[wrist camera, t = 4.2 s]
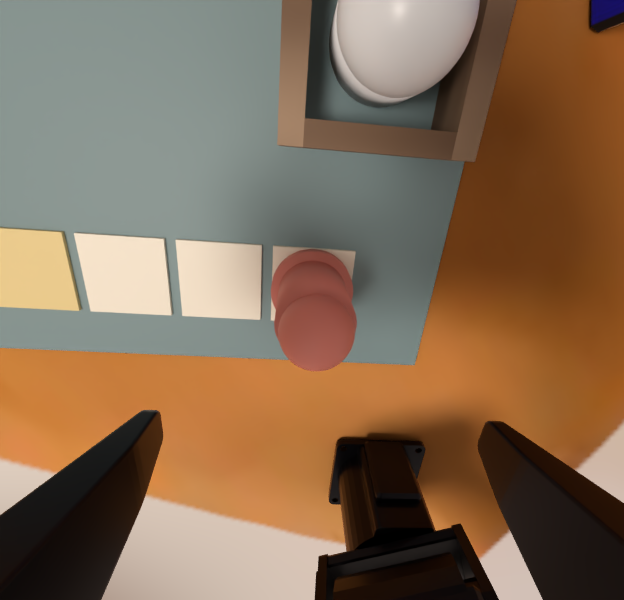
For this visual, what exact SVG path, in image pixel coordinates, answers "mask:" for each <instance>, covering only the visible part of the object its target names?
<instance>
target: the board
mask: <svg viewBox="0 0 624 600" xmlns="http://www.w3.org/2000/svg"><path fill="white" fill-rule="evenodd" d="M337 2H338V0H312V7H311V24H310V40H309V56H308V72H307V89H306V105H305V118H309V119H319V120H330V121H341V122H351V123H362V124H373V125H384V126H394V127H405V128H416V129H426V130H431V126H432V121H433V116H434V111H435V106H436V101H437V96H438V91H439V86H440V81H441V80H440V81H439V82H438V83H436V84H435V85H434V86H432V87H431V88H429V89H427V90H426V91H424V92H422V93H420V94H417V95H415V96H413V97H411V98H409V99H407V100H405V101H403V102H400V103H398V104H396V105H393V106H389V107H383V108H375V107H369V106H366V105H363V104H361V103H359V102H357V101H355V100H354V99H352V98H351V97H350V96H349V95H348V94H347V93H346V92H345V91H344V90H343V89H342V87H341V86H340V84H339V83H338V81H337V79H336V77H335V75H334V72H333V69H332V66H331V61H330V56H329V35H330V29H331V25H332V21H333V17H334V13H335V10H336V6H337ZM281 15H282V0H0V348H19V349H43V350H67V351H91V352H115V353H139V354H162V355H186V356H210V357H234V358H258V359H282V360H289V359H288V358H287V357H286V355H285V354H284V352H283V350H282V348H281V346H280V343H279V340H278V339H277V336H276V333H275V329H274V320H275V312H276V309H275V307H274V305H273V302H272V298H271V285H272V280H273V276H274V273H275V271H276V269H277V267H278V266H279V265H280V263H281V262H282V261H283V260H284V259H285V258H287V257H288V256H289V255H291V254H293V253H295V252H297V251H301V250H305V249H319V250H323V251H326V252H329V253H331V254H333V255H335V256H336V257H337V258H338V259H340V260H341V261H342V262H343V264H344V265H345V267H346V268H347V270H348V272H349V275H350V277H351V280H352V284H353V297H352V301H351V302H352V305H353V308H354V310H355V313H356V318H357V327H356V332H355V339H354V343H353V346H352V349H351V351H350V352H349V354H348V355H347V357H346V358H345V359H344V360H343V361H342V362H353V363H377V364H401V365H415V361H416V357H417V353H418V349H419V345H420V341H421V337H422V333H423V329H424V325H425V321H426V317H427V313H428V309H429V304H430V300H431V296H432V292H433V288H434V284H435V280H436V276H437V272H438V268H439V264H440V260H441V256H442V252H443V248H444V244H445V239H446V235H447V231H448V227H449V223H450V219H451V215H452V211H453V207H454V203H455V199H456V195H457V191H458V187H459V183H460V179H461V174H462V170H463V166H464V162H465V161H448V160H435V159H424V158H412V157H401V156H389V155H378V154H366V153H355V152H343V151H332V150H320V149H309V148H297V147H286V146H279V145H277V138H278V107H279V77H280V46H281Z"/></svg>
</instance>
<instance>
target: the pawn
mask: <svg viewBox="0 0 624 600" xmlns="http://www.w3.org/2000/svg"><path fill="white" fill-rule="evenodd" d="M352 297H353V284H352V280H351V277H350V275H349V272H348V270H347V268H346V267H345V265H344V264H343V262H342V261H341V260H340V259H338V258H337V257H336V256H335V255H333V254H331V253H329V252H326V251H323V250H319V249H305V250H301V251H297V252H295V253H293V254H291V255H289V256H288V257H287V258H285V259H284V260H283V261H282V262H281V263H280V265H279V266H278V267H277V269H276V271H275V273H274V276H273V280H272V285H271V298H272V302H273V305H274V307H275V309H276V312H275V320H274V329H275V333H276V336H277V339H278V340H279V343H280V346H281V348H282V350H283V352H284V354H285V355H286V357H287V358H288V359H289V360H290V361H291V362H292V363H294V364H295V365H297V366H298V367H300V368H303V369H306V370H310V371H324V370H328V369H331V368H333V367H335V366H337V365H338V364H340V363H341V362H342V361H343V360H344V359H345V358H346V357H347V355H348V354H349V352H350V351H351V349H352V346H353V343H354V339H355V332H356V327H357V318H356V313H355V310H354V308H353V305H352V302H351V301H352Z"/></svg>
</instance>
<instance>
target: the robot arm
mask: <svg viewBox="0 0 624 600" xmlns="http://www.w3.org/2000/svg"><path fill="white" fill-rule="evenodd" d="M162 440H163V429H162V422H161V415H160V412H159V411H157V410H143V411H141V412H139V413H138V414H137V415H135V416H134V417H132V418H131V419H130V420H128V421H127V422H126V423H124V424H123V425H122V426H120V427H119V428H118V429H116V430H115V431H114V432H112V433H111V434H109V435H108V436H107V437H105V438H104V439H103V440H101V441H100V442H99V443H97V444H96V445H95V446H93V447H92V448H91V449H89V450H88V451H86V452H85V453H84V454H82V455H81V456H80V457H78V458H77V459H76V460H74V461H73V462H72V463H70V464H69V465H68V466H66V467H65V468H63V469H62V470H61V471H59V472H58V473H57V474H55V475H54V476H53V477H51V478H50V479H49V480H47V481H46V482H45V483H43V484H42V485H40V486H39V487H38V488H36V489H35V490H34V491H33V492H31V493H30V494H28V495H27V496H26V497H24V498H23V499H22V500H20V501H19V502H17V503H16V504H15V505H14V506H12V507H11V508H10V509H8V510H7V511H5V512H4V513H3V514H1V515H0V600H101V599H102V597H103V594H104V592H105V589H106V587H107V585H108V583H109V581H110V578H111V576H112V574H113V571H114V569H115V566H116V564H117V562H118V560H119V557H120V555H121V552H122V550H123V548H124V546H125V543H126V541H127V539H128V536H129V534H130V532H131V530H132V527H133V525H134V522H135V520H136V518H137V515H138V513H139V511H140V508H141V506H142V503H143V501H144V498H145V495H146V492H147V489H148V486H149V482H150V479H151V476H152V473H153V470H154V467H155V463H156V460H157V457H158V454H159V451H160V447H161V444H162ZM343 446H345V447H343ZM417 448H418V449H417ZM478 451H479V454H480V456H481V459H482V462H483V465H484V467H485V470H486V473H487V476H488V478H489V481H490V484H491V486H492V489H493V492H494V495H495V497H496V500H497V502H498V505H499V507H500V509H501V512H502V514H503V516H504V518H505V520H506V523H507V525H508V527H509V529H510V531H511V533H512V535H513V537H514V540H515V542H516V544H517V546H518V548H519V550H520V552H521V554H522V556H523V558H524V561H525V563H526V565H527V567H528V569H529V571H530V573H531V575H532V577H533V580H534V582H535V584H536V586H537V588H538V590H539V592H540V595H541V597H542V599H543V600H624V503H622V502H621V501H620V500H618V499H617V498H615V497H614V496H612V495H611V494H609V493H608V492H606V491H605V490H603V489H602V488H600V487H599V486H597V485H596V484H594V483H593V482H591V481H590V480H588V479H587V478H586V477H584V476H583V475H581V474H580V473H578V472H577V471H575V470H574V469H572V468H571V467H569V466H568V465H566V464H565V463H563V462H562V461H560V460H559V459H557V458H556V457H554V456H553V455H551V454H550V453H548V452H547V451H545V450H544V449H542V448H541V447H539V446H538V445H537V444H535V443H534V442H532V441H531V440H529V439H528V438H526V437H525V436H523V435H522V434H520V433H519V432H517V431H516V430H514V429H513V428H511V427H510V426H508V425H507V424H505V423H504V422H501V421H487V422H486V423H485V425H484V427H483V430H482V433H481V435H480V438H479V440H478ZM424 453H425V447H424V445H423V443H422V442H420V441H390V440H351V439H342V440H339V441H338V442H337V443H336V448H335V455H334V461H333V468H332V475H331V482H330V488H329V502H330V503H331V504H341V510H342V518H343V527H344V535H345V543H346V551H347V552H343V553H338V554H334V555H330V556H328V554H326V555H322V556H319V561H318V571H317V572H316V588H315V600H499V599H498V597H497V595H496V593H495V591H494V589H493V587H492V585H491V583H490V581H489V579H488V577H487V575H486V573H485V571H484V569H483V567H482V565H481V563H480V561H479V559H478V557H477V555H476V553H475V551H474V549H473V547H472V545H471V543H470V541H469V539H468V537H467V535H466V533H465V531H464V529H463V527H462V525H461V524H456V525H451V528H447V529H443V530H438V531H436V530H435V528H434V525H433V522H432V519H431V517H430V514H429V511H428V508H427V506H426V503H425V500H424V498H423V495H422V492H421V489H420V487H419V484H418V481H417V477H418V473H419V470H420V467H421V463H422V460H423V457H424Z"/></svg>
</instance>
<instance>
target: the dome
mask: <svg viewBox="0 0 624 600" xmlns="http://www.w3.org/2000/svg"><path fill="white" fill-rule="evenodd" d="M479 4H480V0H338V2H337V6H336V10H335V13H334V17H333V21H332V25H331V29H330V35H329V56H330V61H331V66H332V69H333V72H334V75H335V77H336V79H337V81H338V83H339V84H340V86H341V87H342V89H343V90H344V91H345V92H346V93H347V94H348V95H349V96H350V97H351V98H352V99H354V100H355V101H357V102H359V103H361V104H363V105H366V106H369V107H375V108H383V107H389V106H393V105H396V104H398V103H400V102H403V101H405V100H407V99H409V98H411V97H413V96H415V95H417V94H420V93H422V92H424V91H426V90H427V89H429V88H431V87H432V86H434V85H435V84H436V83H438V82H439V81H440V80H441V79H443V78H444V77H445V76H446V75H447V74H448V73H449V72H450V70H451V69H452V68H453V66H454V65H455V64H456V63H457V61H458V60H459V59H460V57H461V55H462V54H463V52H464V51H465V49H466V47H467V45H468V43H469V40H470V38H471V35H472V33H473V30H474V27H475V24H476V20H477V17H478V11H479Z"/></svg>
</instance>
